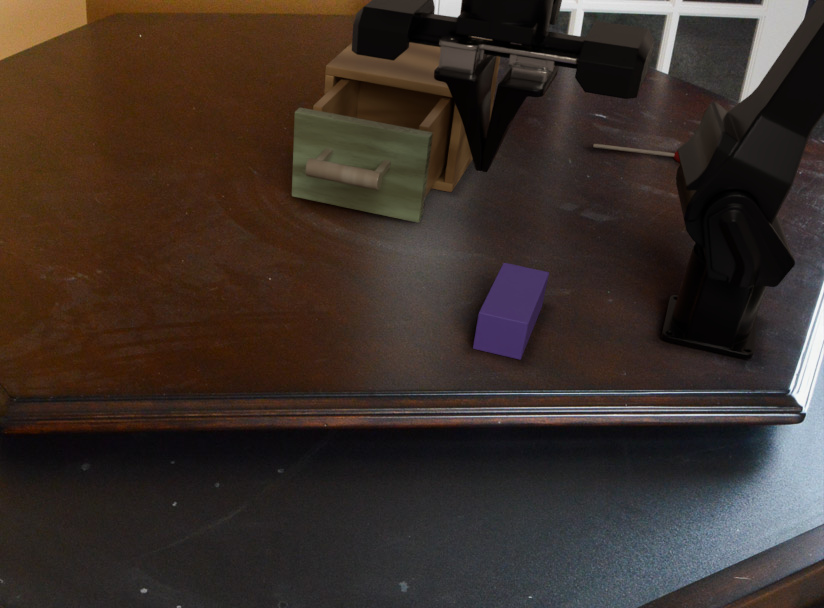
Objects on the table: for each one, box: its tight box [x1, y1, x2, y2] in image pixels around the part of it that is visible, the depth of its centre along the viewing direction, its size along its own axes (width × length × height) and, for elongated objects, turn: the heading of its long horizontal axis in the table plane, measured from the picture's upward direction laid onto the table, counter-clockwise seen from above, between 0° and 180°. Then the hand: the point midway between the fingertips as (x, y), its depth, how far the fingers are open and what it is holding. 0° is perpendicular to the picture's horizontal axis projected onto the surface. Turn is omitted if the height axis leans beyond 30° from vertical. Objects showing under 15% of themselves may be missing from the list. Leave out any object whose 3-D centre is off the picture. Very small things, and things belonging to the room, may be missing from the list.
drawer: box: [291, 78, 455, 223], centre depth 90 cm, size 18×11×7 cm, turn 160°
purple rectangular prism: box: [472, 262, 550, 361], centre depth 77 cm, size 4×8×3 cm, turn 160°
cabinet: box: [323, 36, 501, 193], centre depth 98 cm, size 15×13×9 cm
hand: (483, 169), depth 74 cm, fingers closed
